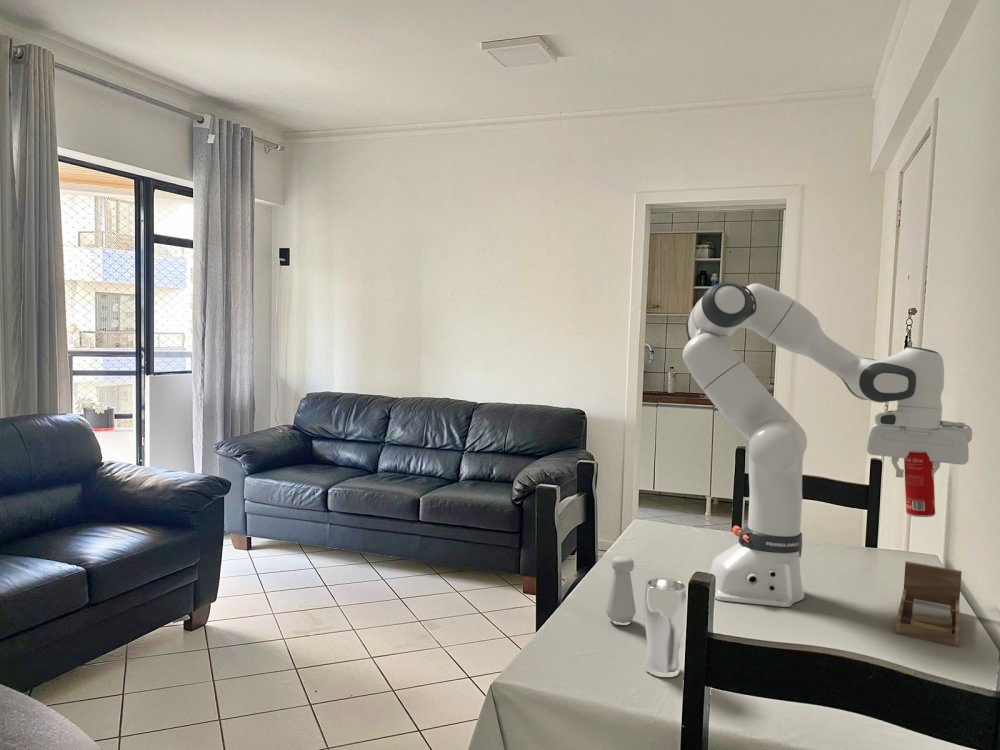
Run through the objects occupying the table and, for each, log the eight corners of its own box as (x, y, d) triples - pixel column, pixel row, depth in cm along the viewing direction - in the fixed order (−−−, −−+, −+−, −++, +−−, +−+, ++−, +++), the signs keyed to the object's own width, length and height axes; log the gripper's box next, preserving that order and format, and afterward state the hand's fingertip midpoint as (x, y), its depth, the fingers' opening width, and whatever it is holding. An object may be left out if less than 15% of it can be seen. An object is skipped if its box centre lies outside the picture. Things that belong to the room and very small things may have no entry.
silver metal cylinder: (951, 637, 141) (953, 613, 141) (910, 629, 145) (911, 605, 145) (951, 629, 146) (953, 606, 145) (911, 620, 149) (913, 598, 149)
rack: (958, 646, 137) (961, 600, 136) (895, 632, 142) (898, 588, 142) (958, 612, 155) (961, 570, 154) (903, 601, 160) (905, 561, 160)
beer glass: (676, 660, 127) (680, 577, 126) (688, 680, 120) (692, 591, 119) (637, 660, 127) (640, 576, 126) (646, 679, 120) (650, 591, 119)
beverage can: (938, 519, 162) (941, 452, 161) (906, 517, 163) (909, 451, 162) (929, 513, 167) (932, 448, 167) (898, 511, 169) (901, 447, 168)
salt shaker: (612, 629, 140) (615, 563, 139) (600, 617, 146) (603, 554, 145) (640, 626, 142) (642, 561, 141) (627, 615, 147) (630, 552, 146)
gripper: (972, 422, 162) (968, 483, 162) (870, 413, 173) (866, 471, 173) (973, 424, 156) (968, 487, 157) (867, 415, 167) (863, 474, 168)
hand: (914, 478), depth 165 cm, fingers closed on beverage can, 4 cm apart
